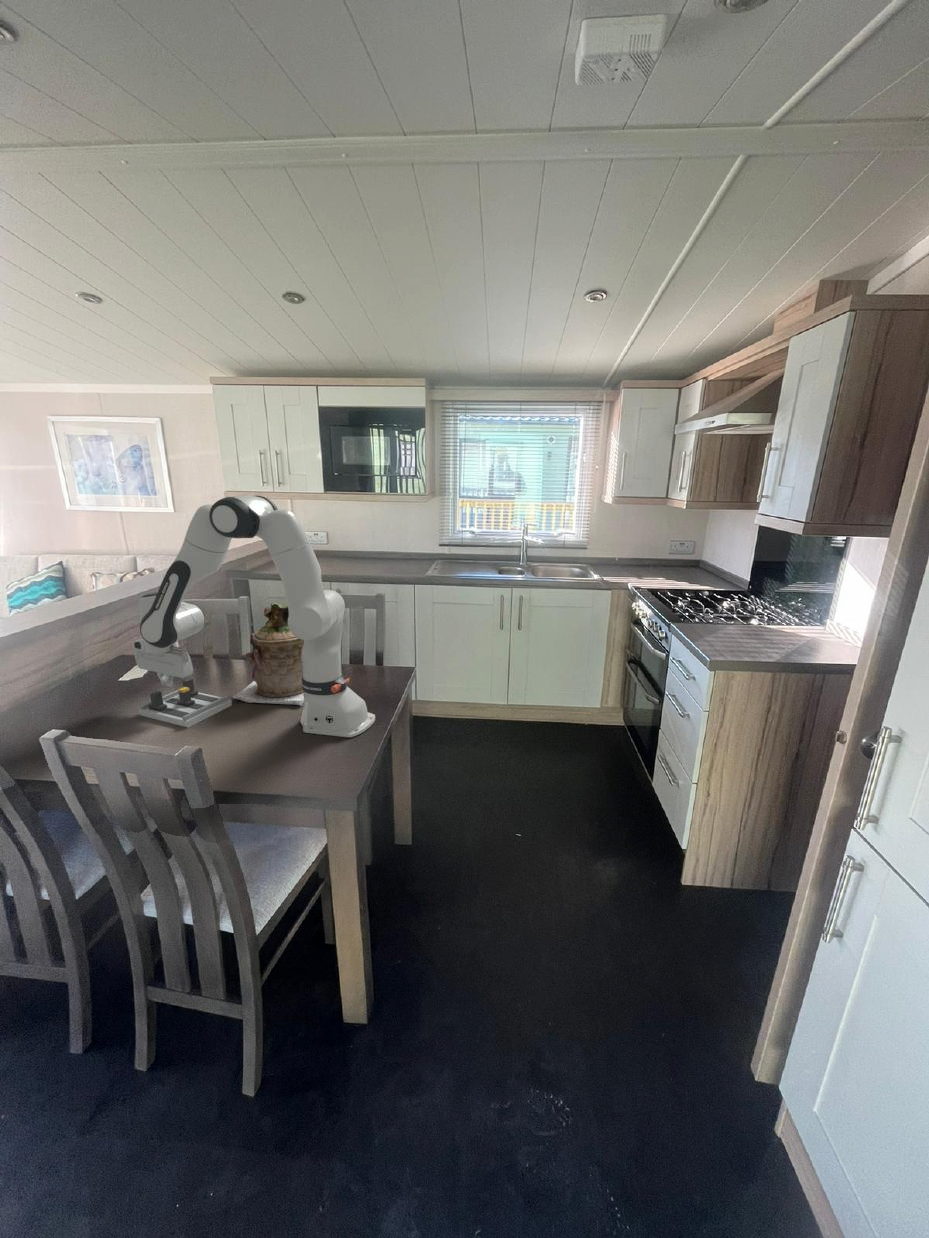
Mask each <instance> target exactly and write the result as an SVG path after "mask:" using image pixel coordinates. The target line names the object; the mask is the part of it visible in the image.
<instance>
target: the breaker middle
mask: <svg viewBox="0 0 929 1238" xmlns="http://www.w3.org/2000/svg"><path fill="white" fill-rule="evenodd" d="M177 690H179V697H180V699H179V700H177V703H180V704H184V705H188V706H189V705H191V704H194V703H195V700H191V695H190V688H188V687H180V688H179V689H177Z"/></svg>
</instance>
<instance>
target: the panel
mask: <svg viewBox="0 0 929 1238" xmlns="http://www.w3.org/2000/svg"><path fill="white" fill-rule="evenodd" d="M162 699H163V704H166V705H167V708H164V709H162V710H158V709H154V708H150V707H149V704H152V703H151V701H149V702H145V703H144V704H141V705H139V709H138V712H139V715H140V716H142V717H146V718H150V719H153V720H157V721H161V722H164V723H169V724H172V725H176V726H181V727H185V728H190V727H192V726H194V725H196V724H198V723H200V722H202V721H204V720H206V719H209V718H210V717H212V716H214V715H216V714H218V713H220V712H222V711H224V710H225V709H228V708H231V707H232V706H233V701H232V699H231V698H230V695H224V696H223V697H221V696H217V695H213V694H207V693H203V692H200V691H198V694H196V695H193V696H191V700H195V703H194V704H191V705H189V706H188V705H184V704H180V703H177V700H179V699H180V697H179V690H178V689H177V690H174V691H172V692H170V693H167V694H165V695H162Z"/></svg>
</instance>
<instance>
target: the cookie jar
mask: <svg viewBox="0 0 929 1238" xmlns="http://www.w3.org/2000/svg"><path fill="white" fill-rule="evenodd" d="M263 615H264V617H266V618H267V619H268V620H267V621H266V622H265V625H263V626H261V627H260V628H259V629H258V630H257V631H255V632H252V633H251V635H250V641H249V643H250V645H251V646H252V652H251V651H250V652H246V654H245V659H246V660H247V661H248V663H249V664H250V665H251V666H252V674H251V678H252V679H253V681H252V682H250V684H248V685H247V686H246V687H245V688H242V690H241V691H239V692H237V693H235V694H233V695H232V697H231V698H233V699H234V700H235V699H236V700H240V701H242V702H245V703H247V704H249V703H252V704H253V703H254V704H255V703H260V704H274V705H275V704H277V705H278V704H279V705H294V706H295V705H296V706H301V707H303V702H304V691H303V690H302V676H303V669H302V656H301V652H302V648H303V644H304V640H302V639H300V638H297V637H296V636H295V635H294V634H293V633H292V632H291V631H290V629H289V626H288V617H289V610H288V605H287V604H283V603H278V602H277V603H276V602H271V603H270V606H267V607H265V608H264V609H263Z"/></svg>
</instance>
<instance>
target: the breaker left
mask: <svg viewBox="0 0 929 1238" xmlns="http://www.w3.org/2000/svg"><path fill="white" fill-rule="evenodd" d="M162 693H163V692H162V691H159V690H156V691H153V692H151V693H149V696H150V702H151V703H152V704H149V707H150V708H154V709H158V710H162V709H164V708H167V705H166V704H163V699H162V696H163V694H162Z"/></svg>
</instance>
